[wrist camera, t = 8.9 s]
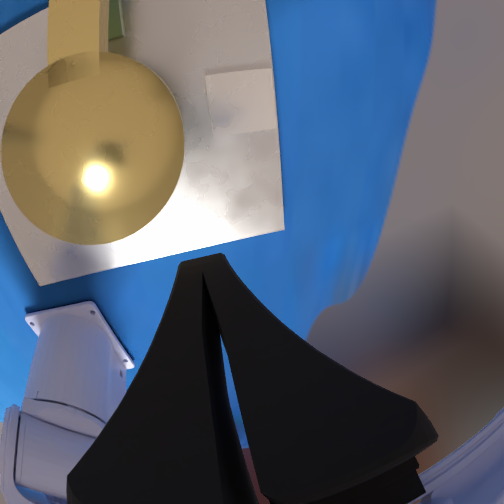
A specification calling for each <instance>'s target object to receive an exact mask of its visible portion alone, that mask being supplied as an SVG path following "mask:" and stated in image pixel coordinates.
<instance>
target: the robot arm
mask: <svg viewBox="0 0 504 504" xmlns="http://www.w3.org/2000/svg"><path fill="white" fill-rule="evenodd" d="M91 310H93V311H91ZM25 320H26V321H27V323H28V324H29V325H30V327H31V328H32V329H33V331H34V332H35V333H36V334H37V336H38V341H37V344H36V348H35V352H34V355H33V359H32V363H31V367H30V372H29V376H28V381H27V385H26V390H25V395H24V399H23V403H22V407H21V411H19V409H20V407H19V406H17V405H15V404H13V405H12V407H8V408H6V411H5V416H4V421H3V428H2V435H1V444H0V474H1V492H2V494H4V499H5V501H6V503H7V504H259V502H258V499H257V496H256V493H255V490H254V487H253V484H252V481H251V478H250V474H249V472H248V468H247V465H246V461H245V458H244V455H243V451H242V448H241V444H240V441H239V437H238V434H237V430H236V426H235V423H234V419H233V415H232V411H231V407H230V402H229V397H228V392H227V385H226V377H225V370H224V362H223V354H222V347H221V339H220V335H221V338H222V341H223V344H224V346H225V349H226V352H227V355H228V359H229V363H230V368H231V372H232V377H233V381H234V385H235V390H236V394H237V398H238V403H239V407H240V411H241V415H242V420H243V424H244V428H245V432H246V436H247V440H248V444H249V448H250V452H251V456H252V460H253V464H254V468H255V472H256V475H257V479H258V483H259V487H260V491H261V493H262V494H263V495H264V496H265V497H267V499H268V500H269V502H270V504H413V503H414V502H416V501H418V500H419V499H421V502H420V503H417V504H504V407H503V409H501V410H500V411H499V412H498V413H497V414H496V415H495V418H494V419H493V420H492V421H491V422H490V423H488V424H487V425H486V426H485V427H484V428H483V429H482V430H480V431H479V432H478V433H477V434H476V435H474V436H473V437H472V438H471V439H469V440H468V441H467V442H466V443H464V444H463V445H462V446H460V447H459V448H458V449H456V450H455V451H454V452H452V453H451V454H450V455H448V456H447V457H445V458H444V459H442V460H441V461H440V462H438V463H436V464H435V465H434V466H432V467H430V468H429V469H427V470H426V471H424V472H422V473H421V474H419V475H418V474H417V472H416V469H418V468H419V464H418V462H417V460H416V458H415V456H416V455H417V454H419V453H420V452H422V451H423V450H425V449H426V448H427V447H429V446H431V445H432V444H433V443H435V442H436V441H437V439H438V434H437V432H436V430H435V429H434V427H433V425H432V423H431V421H430V420H429V419H428V417H427V416H426V415H425V413H424V412H423V411H422V409H421V408H420V407H419V406H418V404H417V403H416V402H415V401H413V400H410V399H408V398H406V397H403V396H401V395H398V394H396V393H394V392H391V391H389V390H387V389H385V388H383V387H381V386H379V385H376V384H374V383H372V382H371V381H369V380H367V379H365V378H363V377H361V376H359V375H357V374H355V373H354V372H352V371H350V370H348V369H347V368H345V367H344V366H342V365H340V364H339V363H337V362H335V361H334V360H332V359H330V358H329V357H328V356H326V355H324V354H323V353H321V352H320V351H318V350H316V349H315V348H314V347H313V346H311V345H310V344H309V343H307V342H306V341H304V340H303V339H302V338H300V337H299V336H298V335H297V334H295V333H294V332H293V331H292V330H290V329H289V328H288V327H287V326H286V325H284V324H283V323H282V322H281V321H280V320H279V319H278V318H277V317H275V316H274V315H273V314H272V313H271V312H270V311H269V310H268V309H267V308H266V307H265V306H264V305H263V304H262V303H261V302H260V301H259V300H258V299H257V298H256V297H255V295H254V294H253V293H252V292H251V291H250V290H249V289H248V288H247V286H246V285H245V284H244V283H243V282H242V280H241V279H240V278H239V277H238V275H237V274H236V273H235V271H234V270H233V268H232V267H231V265H230V264H229V262H228V261H227V259H226V257H225V255H224V254H222V253H218V254H213V255H209V256H205V257H200V258H196V259H191V260H187V261H183V262H181V263H180V264H179V266H178V270H177V274H176V278H175V281H174V285H173V288H172V291H171V294H170V297H169V300H168V303H167V306H166V308H165V311H164V314H163V317H162V319H161V322H160V324H159V326H158V329H157V331H156V334H155V336H154V339H153V341H152V343H151V345H150V348H149V350H148V352H147V354H146V356H145V358H144V360H143V362H142V364H141V366H140V368H139V370H138V372H137V374H136V376H135V378H134V379H133V381H132V383H131V385H130V386H129V388H128V390H127V392H126V369H131V368H134V362H133V360H132V359H131V358H130V356H129V355H128V353H127V352H126V351H125V349H124V348H123V346H122V345H121V343H120V342H119V340H118V339H117V337H116V336H115V334H114V333H113V331H112V330H111V328H110V327H109V325H108V324H107V322H106V321H105V319H104V317H103V316H102V314H101V312H100V311H99V309H98V308H97V306H96V304H95V303H94V302H92V301H86V302H82V303H77V304H72V305H67V306H63V307H58V308H53V309H48V310H43V311H38V312H33V313H28V314H26V316H25Z"/></svg>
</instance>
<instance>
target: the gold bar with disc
mask: <svg viewBox="0 0 504 504" xmlns="http://www.w3.org/2000/svg"><path fill="white" fill-rule="evenodd" d="M108 19H109V0H49V9H48V27H47V65H48V66H47V67H45V68H44V69H43V70H41V71H40V72H39V73H37V74H36V75H35V76H34V77H33V78H32V79H31V80H30V81H29V82H28V83H27V84H26V85H25V87H24V88H23V89H22V90H21V92H20V93H19V95H18V96H17V98H16V99H15V101H14V103H13V105H12V107H11V109H10V111H9V113H8V116H7V119H6V122H5V125H4V129H3V134H2V140H1V164H2V170H3V175H4V179H5V182H6V185H7V188H8V190H9V192H10V194H11V197H12V199H13V200H14V202H15V203H16V205H17V207H18V208H19V209H20V211H21V212H22V213H23V214H24V216H25V217H26V218H27V219H28V220H29V221H30V222H31V223H32V224H34V225H35V226H36V227H38V228H39V229H40V230H42V231H43V232H45V233H47V234H48V235H50V236H52V237H55V238H57V239H59V240H62V241H65V242H69V243H74V244H80V245H100V244H107V243H111V242H115V241H118V240H121V239H124V238H126V237H128V236H130V235H132V234H134V233H136V232H137V231H139V230H141V229H142V228H144V227H145V226H146V225H147V224H149V223H150V222H151V221H152V220H153V219H154V218H155V217H156V216H157V215H158V214H159V213H160V212H161V211H162V209H163V208H164V206H165V205H166V204H167V202H168V201H169V199H170V197H171V196H172V194H173V192H174V190H175V188H176V185H177V183H178V180H179V177H180V174H181V170H182V166H183V159H184V131H183V122H182V117H181V113H180V110H179V107H178V104H177V102H176V100H175V97H174V96H173V94H172V92H171V90H170V89H169V87H168V86H167V85H166V83H165V82H164V81H163V80H162V79H161V77H159V76H158V75H157V74H156V73H155V72H154V71H153V70H152V69H150V68H149V67H147V66H145V65H144V64H142V63H140V62H138V61H136V60H134V59H132V58H129V57H126V56H123V55H119V54H115V53H111V52H108Z"/></svg>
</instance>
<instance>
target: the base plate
mask: <svg viewBox="0 0 504 504" xmlns="http://www.w3.org/2000/svg"><path fill="white" fill-rule="evenodd" d="M48 9H49V7H48V8H46V9H44V10H42V11H40V12H38V13H36V14H34V15H32V16H31V17H29V18H27V19H25V20H23V21H22V22H20V23H18V24H16V25H15V26H13V27H11V28H10V29H8V30H7V31H5V32H3V33H2V34H0V210H1V213H2V215H3V217H4V220H5V222H6V224H7V226H8V228H9V230H10V232H11V235H12V237H13V239H14V241H15V243H16V245H17V246H18V248H19V250H20V252H21V254H22V256H23V258H24V260H25V261H26V263H27V265H28V267H29V269H30V270H31V272H32V274H33V276H34V277H35V279H36V281H37V282H38V284H39V286H43V285H47V284H51V283H55V282H59V281H63V280H67V279H71V278H75V277H80V276H84V275H88V274H92V273H96V272H100V271H104V270H108V269H113V268H117V267H121V266H125V265H129V264H134V263H138V262H142V261H146V260H151V259H155V258H159V257H163V256H168V255H172V254H176V253H181V252H185V251H190V250H194V249H198V248H203V247H207V246H212V245H216V244H221V243H225V242H229V241H234V240H238V239H243V238H248V237H252V236H257V235H261V234H266V233H270V232H275V231H280V230H284V213H283V195H282V178H281V163H280V148H279V135H278V122H277V110H276V98H275V87H274V76H273V66H272V56H271V46H270V37H269V28H268V20H267V11H266V3H265V0H109V19H108V52H111V53H115V54H119V55H123V56H126V57H129V58H132V59H134V60H136V61H138V62H140V63H142V64H144V65H145V66H147V67H149V68H150V69H152V70H153V71H154V72H155V73H156V74H157V75H158V76H159V77H161V79H162V80H163V81H164V82H165V83H166V85H167V86H168V87H169V89H170V90H171V92H172V94H173V96H174V97H175V100H176V102H177V104H178V107H179V110H180V113H181V117H182V122H183V131H184V159H183V166H182V170H181V174H180V177H179V180H178V183H177V185H176V188H175V190H174V192H173V194H172V196H171V197H170V199H169V201H168V202H167V204H166V205H165V206H164V208H163V209H162V211H161V212H160V213H159V214H158V215H157V216H156V217H155V218H154V219H153V220H152V221H151V222H150V223H149V224H147V225H146V226H145V227H144V228H142V229H141V230H139V231H137V232H136V233H134V234H132V235H130V236H128V237H126V238H124V239H121V240H118V241H115V242H111V243H107V244H100V245H80V244H74V243H69V242H65V241H62V240H59V239H57V238H55V237H52V236H50V235H48V234H47V233H45V232H43V231H42V230H40V229H39V228H38V227H36V226H35V225H34V224H32V223H31V222H30V221H29V220H28V219H27V218H26V217H25V216H24V214H23V213H22V212H21V211H20V209H19V208H18V207H17V205H16V203H15V202H14V200H13V199H12V197H11V194H10V192H9V190H8V188H7V185H6V182H5V179H4V175H3V170H2V164H1V140H2V134H3V129H4V125H5V122H6V119H7V116H8V113H9V111H10V109H11V107H12V105H13V103H14V101H15V99H16V98H17V96H18V95H19V93H20V92H21V90H22V89H23V88H24V87H25V85H26V84H27V83H28V82H29V81H30V80H31V79H32V78H33V77H34V76H35V75H36V74H37V73H39V72H40V71H41V70H43V69H44V68H45V67H47V66H48V65H47V27H48Z"/></svg>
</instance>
